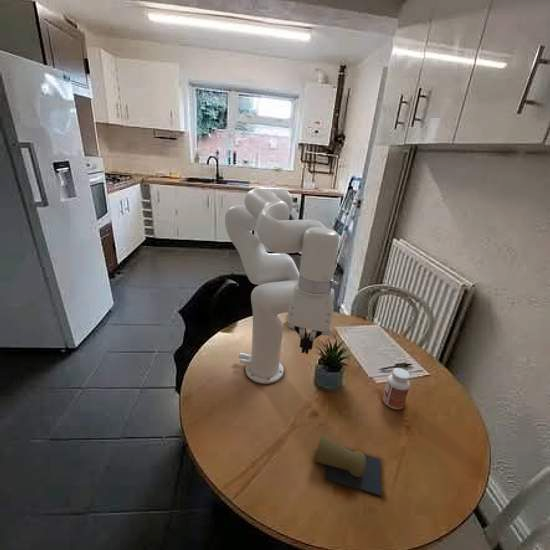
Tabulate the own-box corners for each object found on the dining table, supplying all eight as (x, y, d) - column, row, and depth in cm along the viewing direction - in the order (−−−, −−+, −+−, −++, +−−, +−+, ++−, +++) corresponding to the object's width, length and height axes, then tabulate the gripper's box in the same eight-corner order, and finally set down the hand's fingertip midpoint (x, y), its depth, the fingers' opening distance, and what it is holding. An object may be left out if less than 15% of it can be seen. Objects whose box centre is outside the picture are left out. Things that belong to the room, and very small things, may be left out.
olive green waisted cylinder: (323, 429, 75) (369, 447, 72) (320, 443, 78) (364, 461, 75) (316, 452, 70) (365, 473, 67) (313, 466, 73) (360, 487, 70)
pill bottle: (408, 405, 93) (417, 376, 89) (395, 413, 90) (404, 383, 86) (390, 392, 98) (398, 363, 94) (378, 399, 95) (385, 370, 91)
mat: (326, 479, 70) (326, 478, 70) (330, 446, 78) (330, 445, 78) (381, 496, 68) (381, 495, 68) (379, 460, 76) (379, 459, 76)
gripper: (349, 282, 71) (336, 348, 79) (286, 271, 75) (280, 335, 82) (347, 295, 65) (334, 366, 72) (278, 283, 68) (272, 352, 75)
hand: (305, 350), depth 77 cm, fingers closed
